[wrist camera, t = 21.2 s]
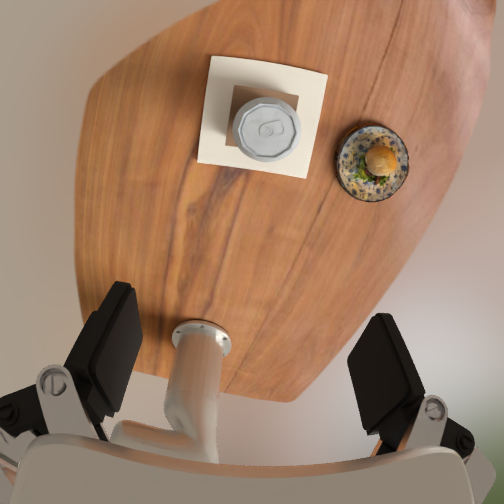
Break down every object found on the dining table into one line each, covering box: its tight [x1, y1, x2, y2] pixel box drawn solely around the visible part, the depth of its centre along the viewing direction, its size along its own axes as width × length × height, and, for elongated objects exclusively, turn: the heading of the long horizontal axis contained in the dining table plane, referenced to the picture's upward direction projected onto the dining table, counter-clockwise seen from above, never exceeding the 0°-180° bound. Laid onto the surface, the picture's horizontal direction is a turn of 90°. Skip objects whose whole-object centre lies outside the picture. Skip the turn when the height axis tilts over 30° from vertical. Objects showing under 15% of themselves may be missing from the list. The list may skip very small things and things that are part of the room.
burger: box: [334, 123, 409, 202], centre depth 33 cm, size 12×12×8 cm
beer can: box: [232, 97, 301, 162], centre depth 22 cm, size 5×5×12 cm
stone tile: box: [197, 56, 328, 179], centre depth 32 cm, size 15×15×1 cm
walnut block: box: [225, 85, 299, 147], centre depth 30 cm, size 7×7×6 cm
